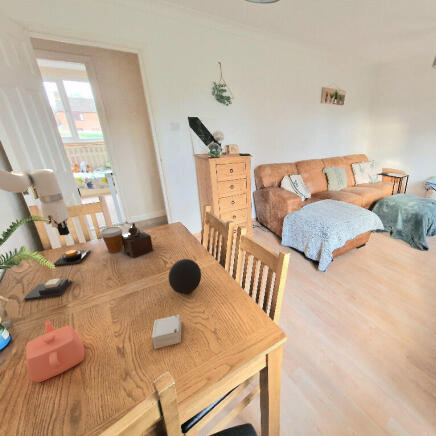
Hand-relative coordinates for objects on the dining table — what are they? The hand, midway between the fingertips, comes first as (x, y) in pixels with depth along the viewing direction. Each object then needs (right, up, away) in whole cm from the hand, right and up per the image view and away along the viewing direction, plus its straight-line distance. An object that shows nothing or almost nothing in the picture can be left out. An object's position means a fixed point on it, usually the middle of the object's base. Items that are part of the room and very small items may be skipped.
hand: (64, 234), depth 113 cm
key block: (-1, -13, +6) cm, 14 cm away
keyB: (-1, -10, +5) cm, 11 cm away
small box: (+67, -32, -33) cm, 81 cm away
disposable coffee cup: (+13, -10, +15) cm, 22 cm away
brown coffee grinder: (+28, -11, +14) cm, 33 cm away
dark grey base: (+9, -22, -16) cm, 29 cm away
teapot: (+40, -35, -43) cm, 68 cm away
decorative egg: (+64, -24, -12) cm, 69 cm away
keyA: (+11, -20, -17) cm, 28 cm away
